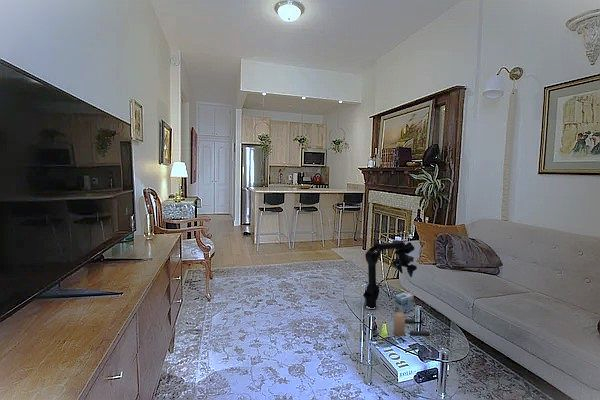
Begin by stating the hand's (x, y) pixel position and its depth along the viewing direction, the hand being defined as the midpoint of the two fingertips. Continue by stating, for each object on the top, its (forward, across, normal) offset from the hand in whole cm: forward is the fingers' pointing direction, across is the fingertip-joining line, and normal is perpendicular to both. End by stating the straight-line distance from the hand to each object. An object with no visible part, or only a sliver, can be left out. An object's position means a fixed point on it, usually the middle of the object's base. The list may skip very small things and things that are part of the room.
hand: (406, 275), depth 239 cm
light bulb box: (+10, -15, +21) cm, 28 cm away
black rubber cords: (+7, -35, +31) cm, 47 cm away
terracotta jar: (+4, -33, +42) cm, 54 cm away
